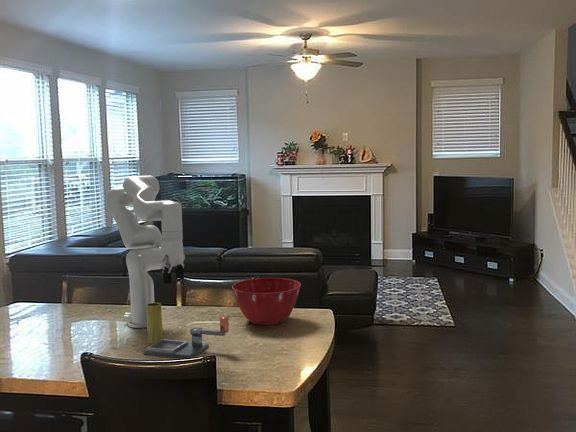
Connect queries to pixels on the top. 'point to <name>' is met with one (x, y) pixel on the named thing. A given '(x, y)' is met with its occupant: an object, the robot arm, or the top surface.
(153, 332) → the vase
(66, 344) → the top surface
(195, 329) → the lever
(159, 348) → the bed
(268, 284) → the mixing bowl
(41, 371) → the top surface
